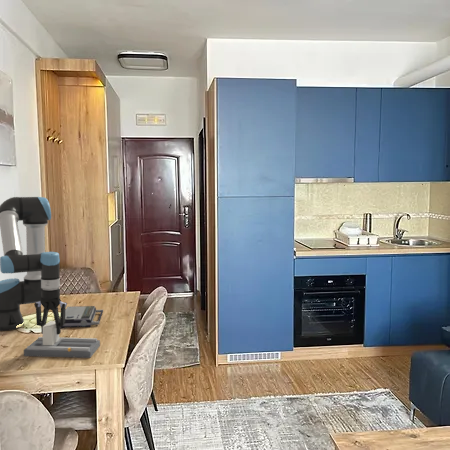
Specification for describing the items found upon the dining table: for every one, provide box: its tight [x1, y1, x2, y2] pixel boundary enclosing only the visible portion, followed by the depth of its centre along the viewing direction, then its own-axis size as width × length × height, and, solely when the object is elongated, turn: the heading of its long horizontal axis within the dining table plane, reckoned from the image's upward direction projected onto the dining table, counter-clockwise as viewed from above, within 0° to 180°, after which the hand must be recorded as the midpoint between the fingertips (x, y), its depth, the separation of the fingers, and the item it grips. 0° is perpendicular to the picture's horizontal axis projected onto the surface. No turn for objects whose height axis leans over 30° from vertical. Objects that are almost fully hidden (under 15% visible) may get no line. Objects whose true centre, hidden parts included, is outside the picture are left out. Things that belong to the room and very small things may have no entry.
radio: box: [61, 305, 104, 329], centre depth 239 cm, size 24×5×20 cm
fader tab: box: [41, 320, 62, 347], centre depth 196 cm, size 6×8×9 cm
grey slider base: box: [23, 336, 101, 359], centre depth 197 cm, size 28×14×4 cm, turn 89°
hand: (51, 341), depth 196 cm, fingers closed on fader tab, 4 cm apart
